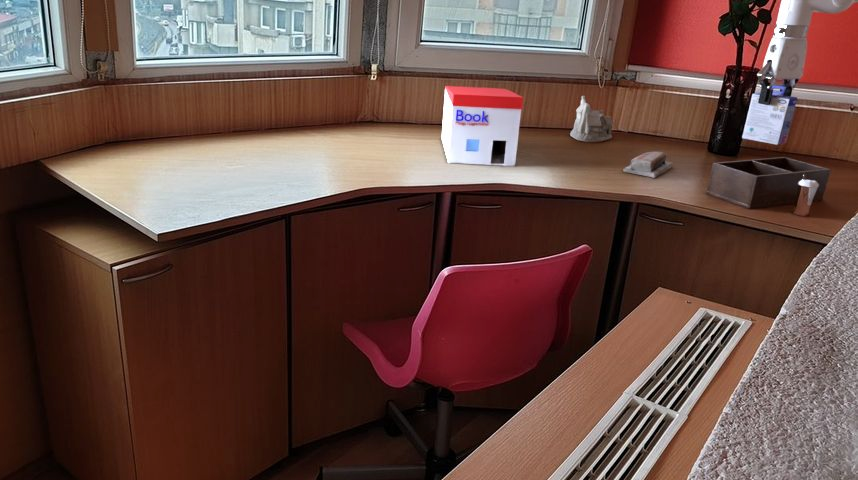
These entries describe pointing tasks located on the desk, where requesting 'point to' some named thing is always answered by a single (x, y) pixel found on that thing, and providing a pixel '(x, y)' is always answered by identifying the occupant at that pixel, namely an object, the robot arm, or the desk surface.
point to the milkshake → (805, 196)
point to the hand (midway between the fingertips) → (773, 103)
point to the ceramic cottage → (591, 124)
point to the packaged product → (649, 164)
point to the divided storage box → (764, 181)
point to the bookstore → (481, 125)
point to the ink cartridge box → (770, 118)
